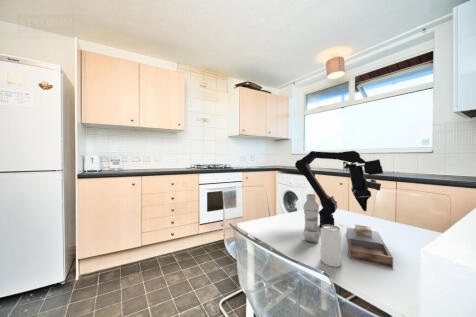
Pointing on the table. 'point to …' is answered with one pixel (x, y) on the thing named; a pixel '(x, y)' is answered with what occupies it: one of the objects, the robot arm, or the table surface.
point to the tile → (363, 230)
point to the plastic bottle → (311, 219)
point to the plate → (365, 239)
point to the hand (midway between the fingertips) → (363, 209)
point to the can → (331, 245)
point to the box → (371, 254)
